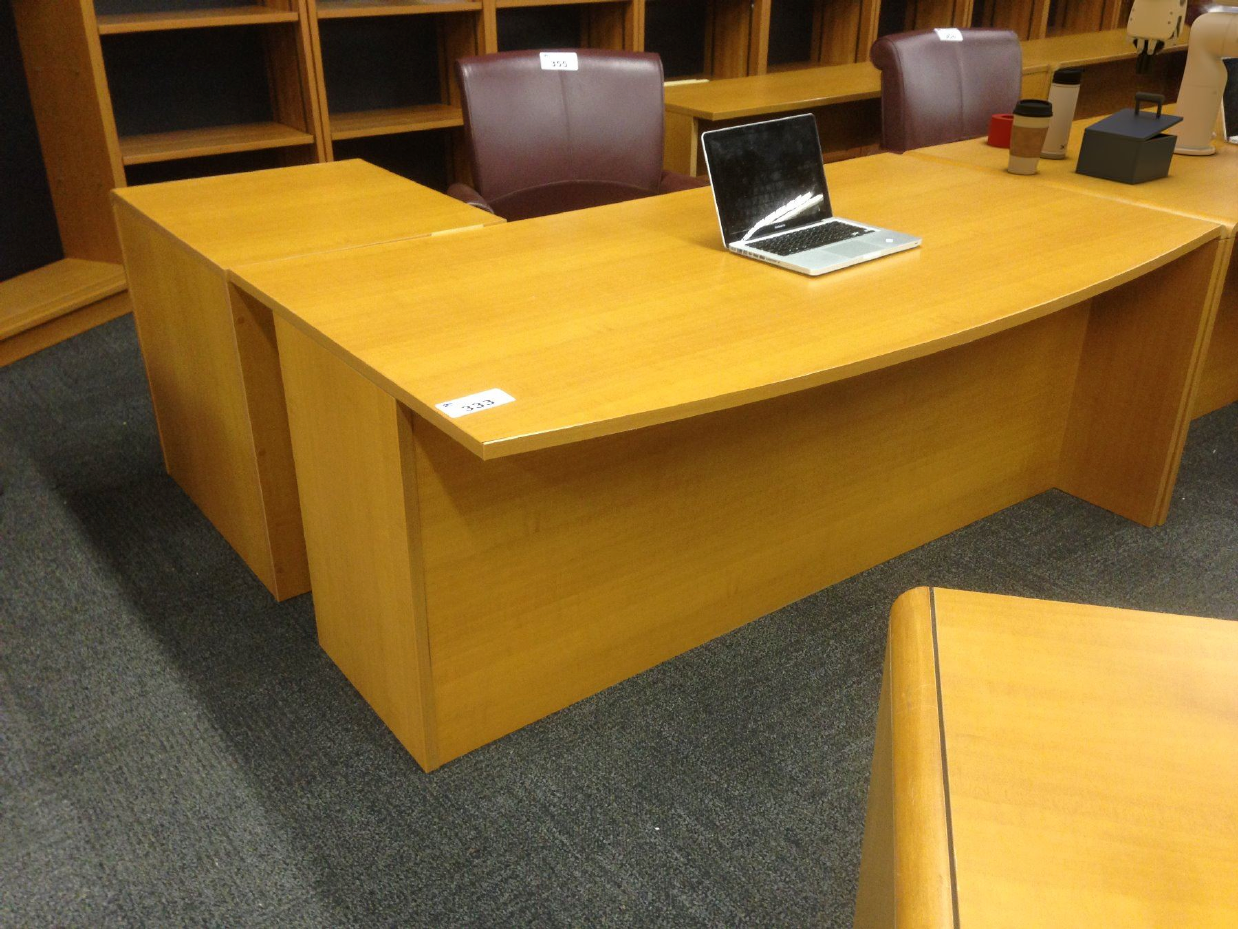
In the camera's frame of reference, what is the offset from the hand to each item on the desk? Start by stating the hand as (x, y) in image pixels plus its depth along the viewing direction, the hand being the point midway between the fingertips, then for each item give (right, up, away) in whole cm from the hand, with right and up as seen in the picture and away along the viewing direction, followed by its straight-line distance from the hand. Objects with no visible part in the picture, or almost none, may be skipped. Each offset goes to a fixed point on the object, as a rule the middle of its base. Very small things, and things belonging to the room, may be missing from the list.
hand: (1142, 73), depth 224 cm
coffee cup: (-22, -18, +11) cm, 30 cm away
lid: (+1, -9, +6) cm, 11 cm away
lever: (-11, -5, +37) cm, 39 cm away
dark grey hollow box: (0, -19, +11) cm, 21 cm away
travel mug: (-8, -10, +27) cm, 30 cm away
